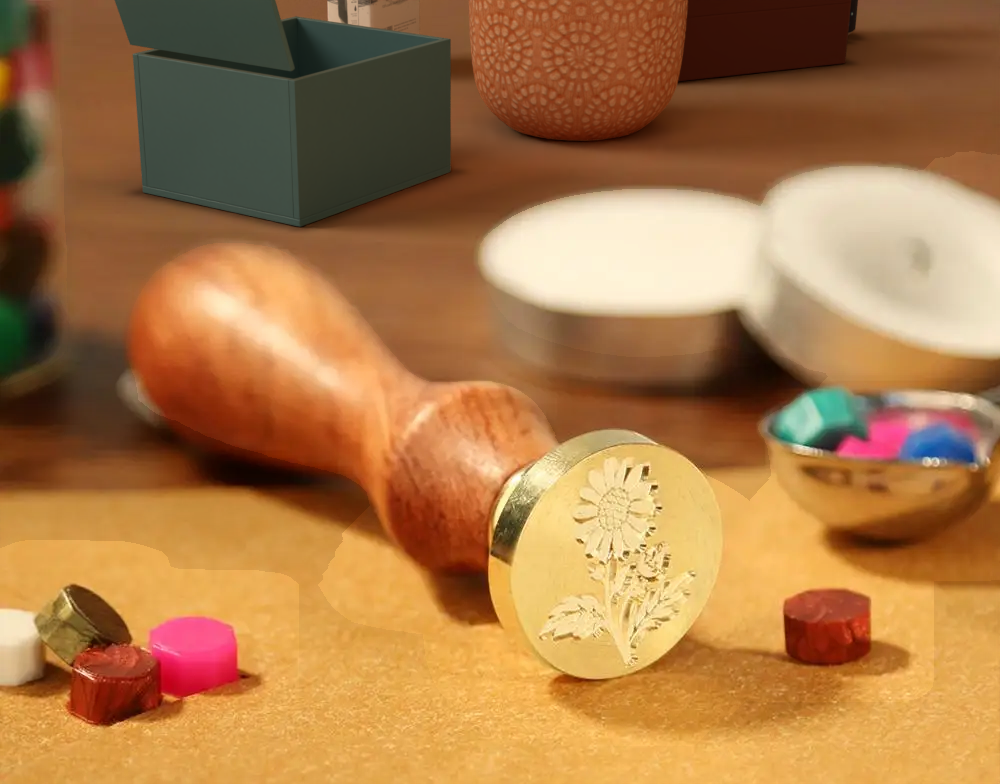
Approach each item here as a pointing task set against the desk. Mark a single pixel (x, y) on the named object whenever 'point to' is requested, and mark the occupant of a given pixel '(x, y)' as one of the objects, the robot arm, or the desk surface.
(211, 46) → the flap
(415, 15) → the ink box
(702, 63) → the box
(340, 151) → the carton
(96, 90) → the desk surface
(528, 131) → the planter
